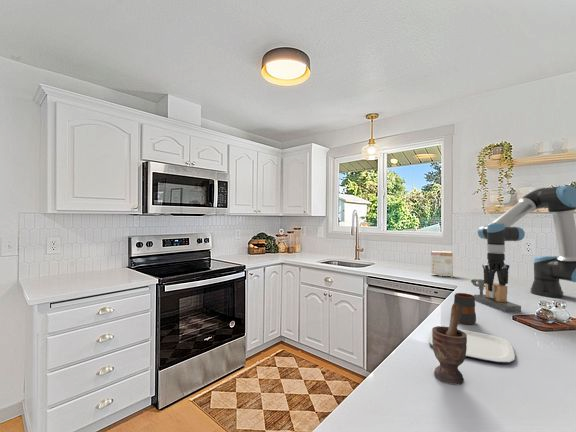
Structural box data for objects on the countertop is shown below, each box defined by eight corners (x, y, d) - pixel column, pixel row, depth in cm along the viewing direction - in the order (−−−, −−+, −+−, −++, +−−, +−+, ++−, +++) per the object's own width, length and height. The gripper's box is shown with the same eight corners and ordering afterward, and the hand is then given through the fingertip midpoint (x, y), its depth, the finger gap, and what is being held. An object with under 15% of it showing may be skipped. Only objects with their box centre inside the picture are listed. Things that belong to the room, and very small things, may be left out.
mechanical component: (492, 298, 171) (492, 280, 171) (472, 297, 173) (472, 279, 173) (489, 296, 174) (489, 279, 174) (470, 295, 176) (470, 278, 176)
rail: (487, 299, 167) (487, 294, 167) (521, 312, 145) (521, 305, 145) (473, 300, 166) (473, 294, 166) (505, 312, 144) (505, 306, 145)
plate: (518, 371, 89) (518, 366, 89) (425, 351, 102) (425, 346, 102) (510, 342, 110) (510, 337, 110) (434, 328, 123) (434, 324, 124)
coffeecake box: (452, 276, 237) (452, 251, 237) (452, 277, 231) (452, 252, 231) (432, 274, 245) (432, 250, 245) (431, 275, 239) (431, 251, 239)
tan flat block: (492, 300, 161) (492, 282, 161) (507, 306, 151) (507, 286, 151) (485, 300, 161) (485, 282, 161) (500, 306, 151) (499, 286, 151)
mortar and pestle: (433, 363, 93) (433, 298, 93) (465, 370, 89) (465, 302, 89) (431, 380, 82) (431, 308, 83) (467, 389, 78) (467, 313, 79)
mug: (477, 319, 135) (477, 293, 135) (475, 326, 125) (475, 298, 125) (455, 315, 140) (455, 290, 140) (451, 322, 130) (451, 295, 130)
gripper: (505, 251, 160) (505, 295, 160) (475, 251, 159) (475, 295, 159) (517, 253, 153) (517, 298, 153) (485, 253, 152) (485, 299, 151)
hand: (495, 297), depth 156 cm, fingers closed on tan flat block, 4 cm apart
